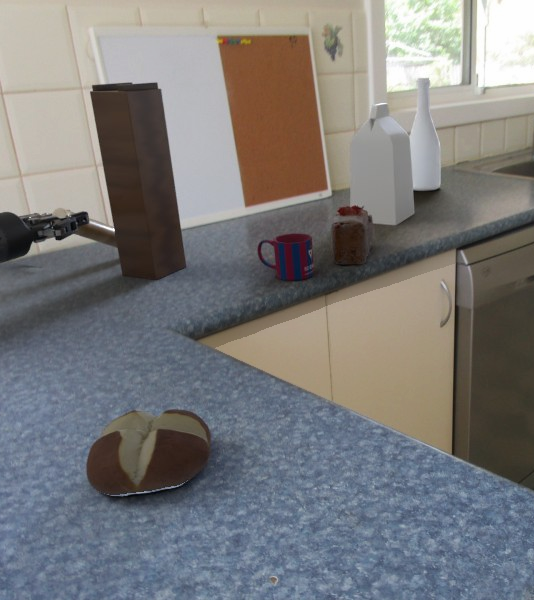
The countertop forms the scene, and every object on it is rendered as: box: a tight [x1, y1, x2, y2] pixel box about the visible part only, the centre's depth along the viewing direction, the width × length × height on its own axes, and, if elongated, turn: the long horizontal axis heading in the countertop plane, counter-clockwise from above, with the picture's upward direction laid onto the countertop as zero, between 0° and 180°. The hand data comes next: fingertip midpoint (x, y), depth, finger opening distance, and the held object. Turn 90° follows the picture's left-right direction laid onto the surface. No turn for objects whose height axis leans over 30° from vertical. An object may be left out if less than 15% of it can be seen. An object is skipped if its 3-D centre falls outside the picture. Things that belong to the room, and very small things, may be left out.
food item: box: [330, 205, 374, 266], centre depth 128 cm, size 14×8×10 cm, turn 1°
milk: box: [349, 102, 415, 226], centre depth 153 cm, size 12×12×26 cm
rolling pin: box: [51, 207, 118, 249], centre depth 124 cm, size 20×4×4 cm
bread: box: [85, 408, 212, 495], centre depth 64 cm, size 11×11×5 cm
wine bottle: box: [409, 77, 442, 192], centre depth 185 cm, size 10×10×30 cm
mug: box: [257, 232, 315, 282], centre depth 118 cm, size 7×10×7 cm
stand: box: [89, 81, 187, 281], centre depth 117 cm, size 8×8×33 cm
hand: (78, 216), depth 118 cm, fingers closed on rolling pin, 3 cm apart
